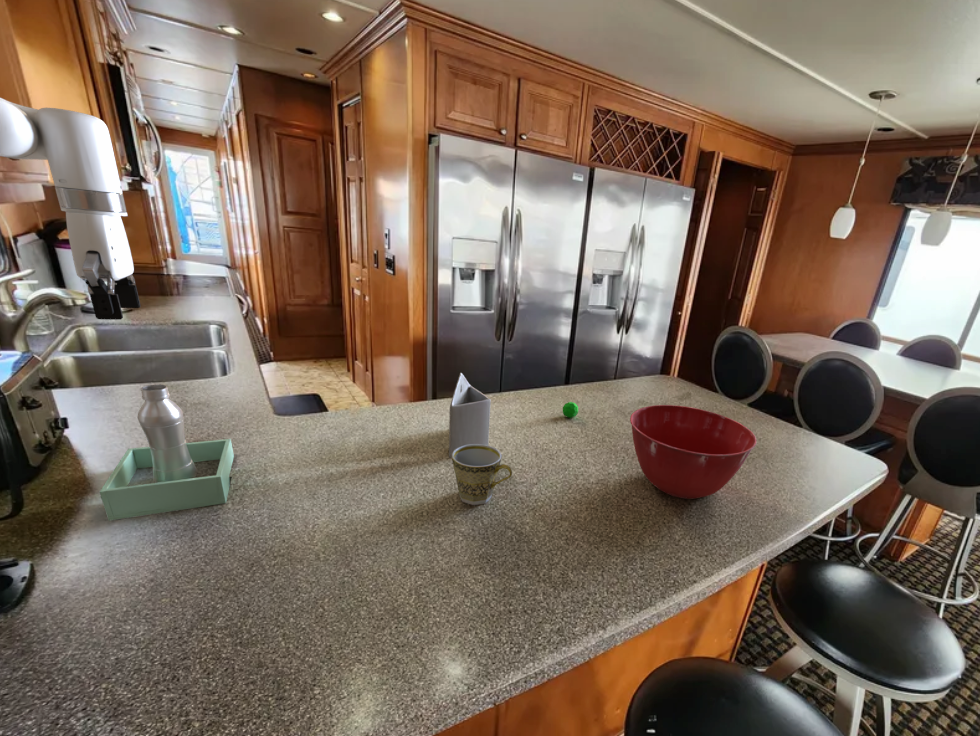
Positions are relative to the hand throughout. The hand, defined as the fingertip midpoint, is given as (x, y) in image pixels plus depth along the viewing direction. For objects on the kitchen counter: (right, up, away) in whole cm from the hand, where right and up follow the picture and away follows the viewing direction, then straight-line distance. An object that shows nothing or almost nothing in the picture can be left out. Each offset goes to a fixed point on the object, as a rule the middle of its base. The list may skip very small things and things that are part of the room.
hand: (120, 313), depth 78 cm
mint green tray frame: (+1, -32, +11) cm, 34 cm away
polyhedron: (+78, -18, +66) cm, 104 cm away
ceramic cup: (+59, -35, +19) cm, 71 cm away
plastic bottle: (+1, -31, +11) cm, 33 cm away
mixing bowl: (+104, -34, +33) cm, 115 cm away
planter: (+53, -26, +41) cm, 71 cm away
